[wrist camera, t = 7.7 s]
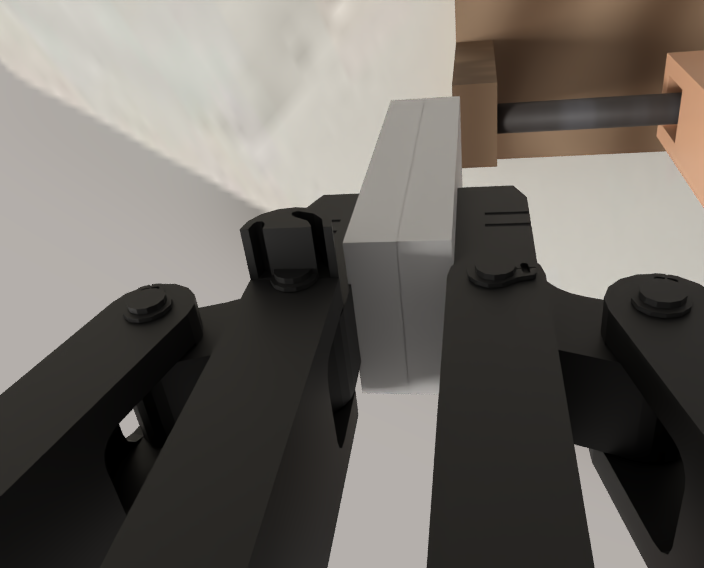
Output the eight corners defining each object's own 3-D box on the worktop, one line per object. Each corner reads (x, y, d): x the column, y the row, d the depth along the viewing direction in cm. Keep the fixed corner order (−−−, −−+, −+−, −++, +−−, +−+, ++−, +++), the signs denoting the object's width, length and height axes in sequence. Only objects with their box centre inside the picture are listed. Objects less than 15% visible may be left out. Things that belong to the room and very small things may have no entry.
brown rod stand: (906, -63, 33) (1061, -36, 24) (850, 132, 38) (962, 214, 30) (455, -20, 37) (449, 17, 29) (459, 151, 42) (456, 228, 34)
